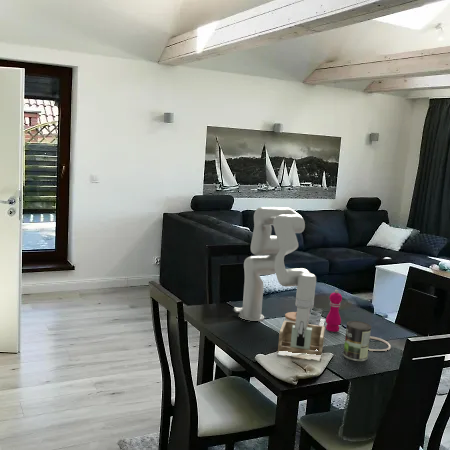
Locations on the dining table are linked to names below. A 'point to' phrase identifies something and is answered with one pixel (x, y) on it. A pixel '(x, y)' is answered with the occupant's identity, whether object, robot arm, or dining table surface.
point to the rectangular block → (306, 335)
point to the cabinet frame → (285, 344)
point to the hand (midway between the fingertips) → (300, 344)
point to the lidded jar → (290, 316)
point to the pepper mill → (334, 312)
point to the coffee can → (357, 340)
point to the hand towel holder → (382, 341)
